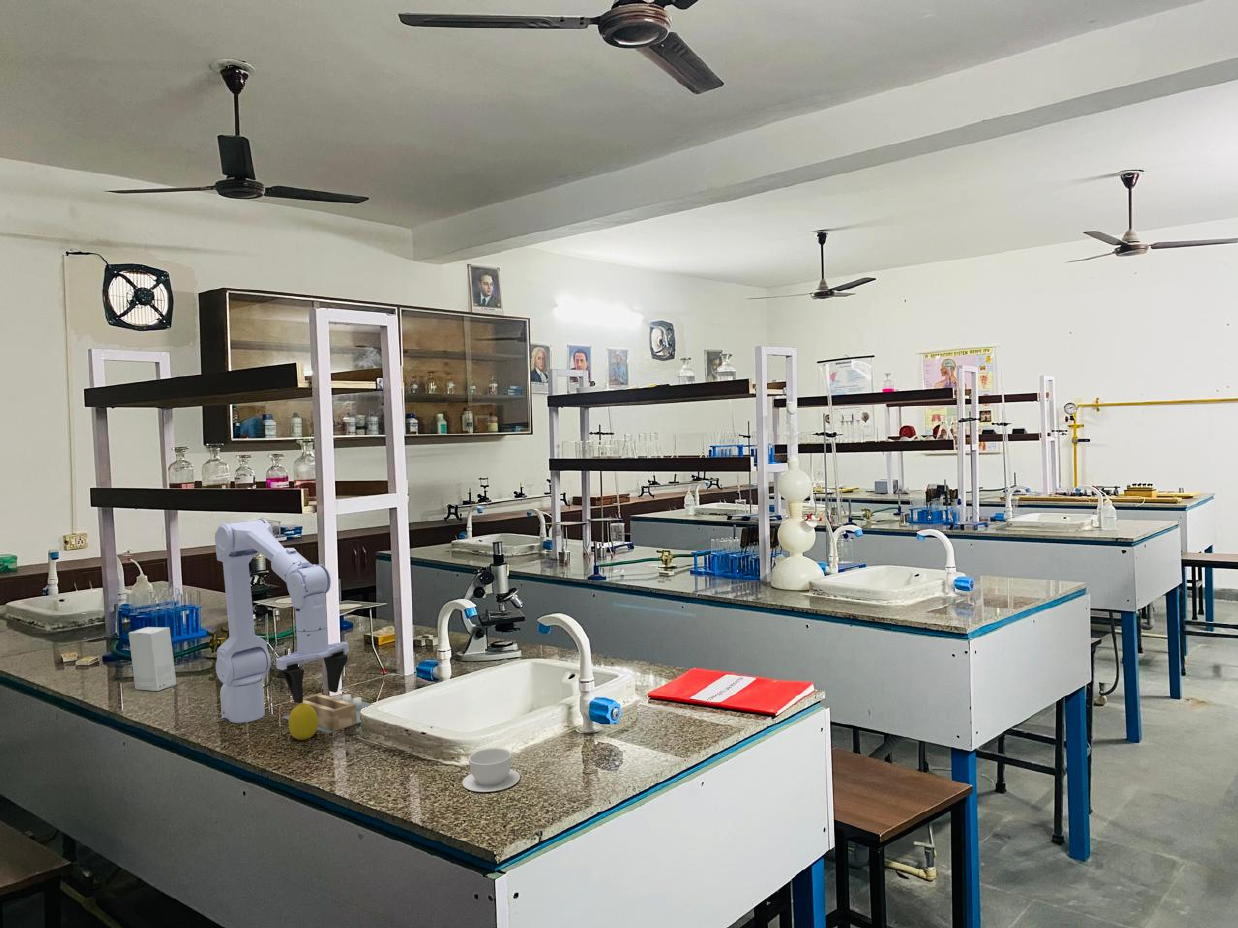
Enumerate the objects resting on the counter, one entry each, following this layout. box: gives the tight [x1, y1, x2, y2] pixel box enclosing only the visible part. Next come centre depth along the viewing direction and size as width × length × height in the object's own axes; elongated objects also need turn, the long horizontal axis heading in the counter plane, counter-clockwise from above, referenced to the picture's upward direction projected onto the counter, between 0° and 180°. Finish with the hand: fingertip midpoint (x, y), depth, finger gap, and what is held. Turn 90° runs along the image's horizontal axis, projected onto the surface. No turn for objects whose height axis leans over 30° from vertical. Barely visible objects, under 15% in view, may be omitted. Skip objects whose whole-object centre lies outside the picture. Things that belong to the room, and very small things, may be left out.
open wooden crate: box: [295, 693, 358, 732], centre depth 183 cm, size 14×5×4 cm, turn 51°
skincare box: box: [128, 626, 177, 692], centre depth 217 cm, size 8×6×15 cm
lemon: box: [288, 703, 318, 741], centre depth 173 cm, size 6×6×8 cm
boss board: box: [281, 693, 374, 734], centre depth 187 cm, size 18×16×4 cm
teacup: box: [462, 747, 521, 793], centre depth 150 cm, size 10×10×5 cm
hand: (316, 696), depth 170 cm, fingers open, 7 cm apart
